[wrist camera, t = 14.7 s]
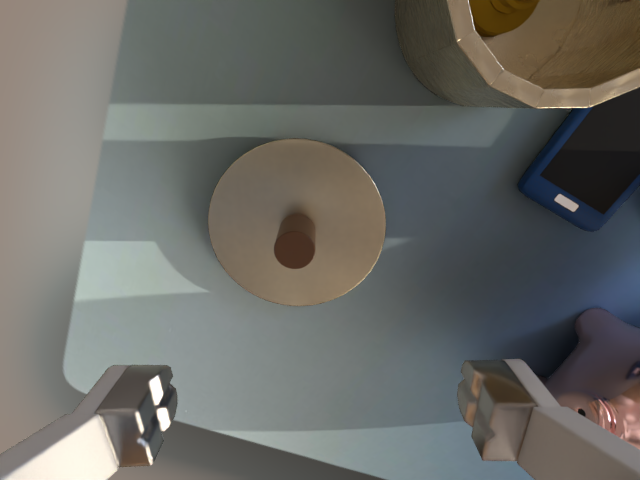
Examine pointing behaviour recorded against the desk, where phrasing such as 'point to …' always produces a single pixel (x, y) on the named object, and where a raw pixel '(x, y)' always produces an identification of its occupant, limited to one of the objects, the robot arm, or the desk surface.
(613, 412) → the piggy bank
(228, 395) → the desk surface
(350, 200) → the tin lid
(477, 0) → the chess piece
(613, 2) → the tin
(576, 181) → the cell phone
